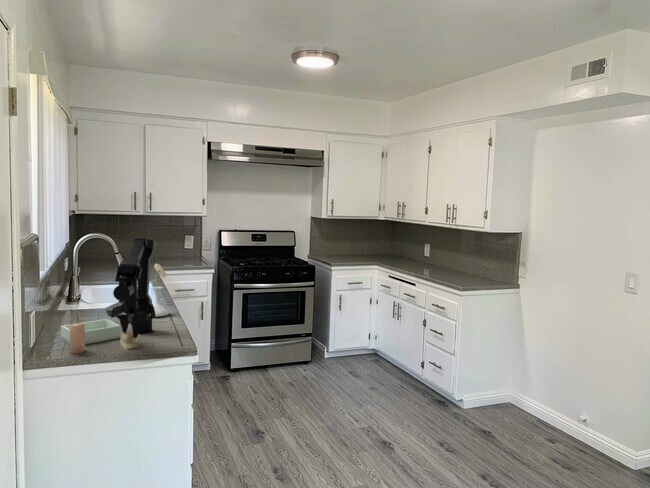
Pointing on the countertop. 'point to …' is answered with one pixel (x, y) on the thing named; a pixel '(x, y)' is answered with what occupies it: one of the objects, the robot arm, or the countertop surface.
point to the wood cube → (129, 340)
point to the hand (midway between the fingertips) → (129, 335)
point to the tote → (95, 331)
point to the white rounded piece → (158, 306)
